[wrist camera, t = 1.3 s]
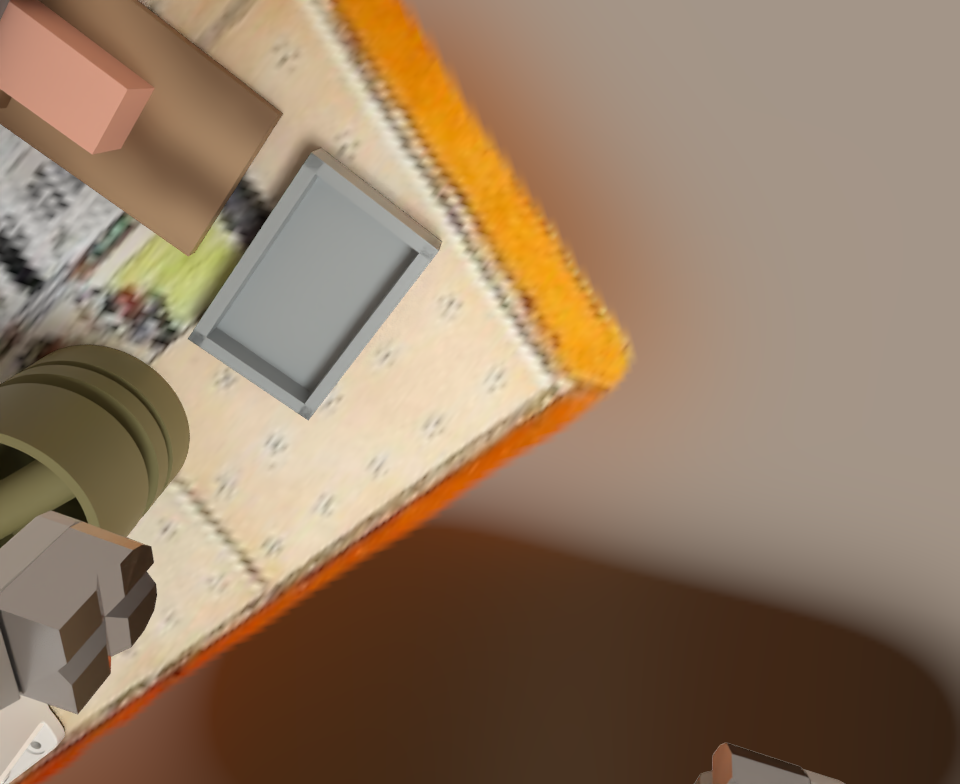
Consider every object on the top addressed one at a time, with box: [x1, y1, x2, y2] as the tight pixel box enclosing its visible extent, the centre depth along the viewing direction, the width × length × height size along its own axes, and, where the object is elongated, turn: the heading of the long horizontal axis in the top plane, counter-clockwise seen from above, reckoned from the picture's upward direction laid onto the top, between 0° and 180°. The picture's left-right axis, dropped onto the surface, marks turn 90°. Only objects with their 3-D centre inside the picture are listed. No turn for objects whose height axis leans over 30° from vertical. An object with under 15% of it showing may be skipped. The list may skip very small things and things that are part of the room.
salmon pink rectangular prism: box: [0, 0, 155, 155], centre depth 39 cm, size 4×10×3 cm, turn 52°
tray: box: [188, 148, 442, 420], centre depth 45 cm, size 14×9×2 cm, turn 142°
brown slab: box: [0, 0, 283, 256], centre depth 38 cm, size 10×22×6 cm, turn 52°
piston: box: [0, 345, 190, 548], centre depth 44 cm, size 11×12×11 cm
